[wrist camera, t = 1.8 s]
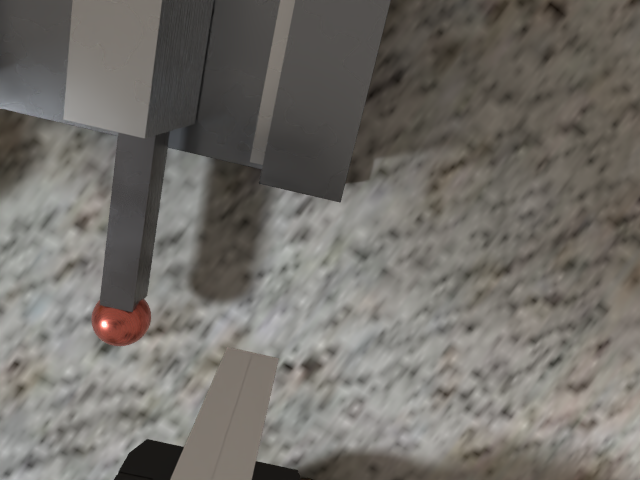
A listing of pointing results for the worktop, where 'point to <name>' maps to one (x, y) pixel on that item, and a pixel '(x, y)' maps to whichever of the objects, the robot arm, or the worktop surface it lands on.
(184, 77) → the free jaw
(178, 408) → the worktop surface
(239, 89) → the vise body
